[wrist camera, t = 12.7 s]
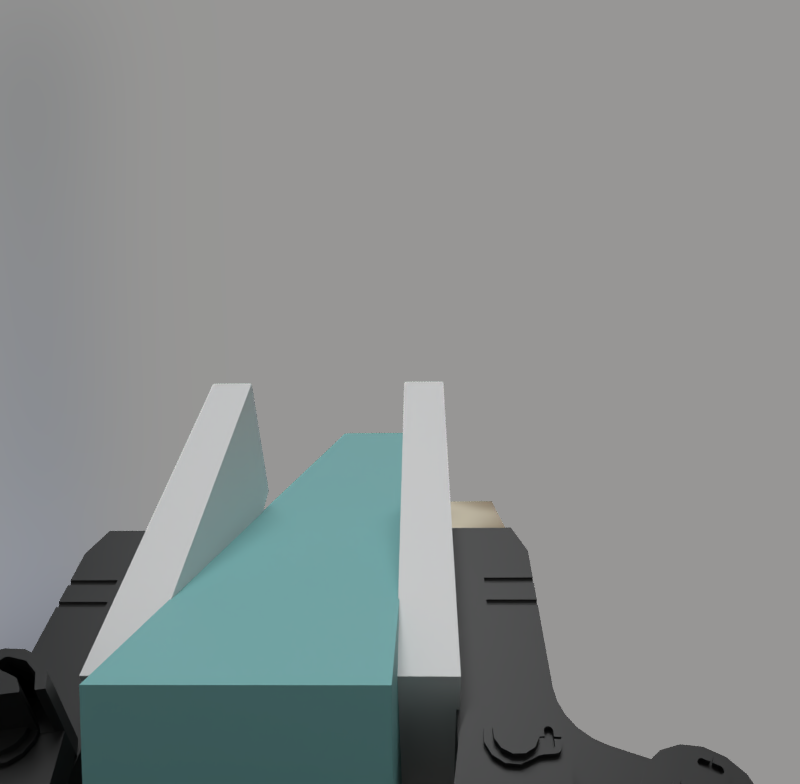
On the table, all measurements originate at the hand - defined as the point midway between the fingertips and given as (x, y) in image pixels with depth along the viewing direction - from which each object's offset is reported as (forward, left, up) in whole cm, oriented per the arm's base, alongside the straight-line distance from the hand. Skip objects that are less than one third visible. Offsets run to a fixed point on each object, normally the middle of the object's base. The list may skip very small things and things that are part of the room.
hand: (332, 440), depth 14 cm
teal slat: (0, +4, -4) cm, 6 cm away
